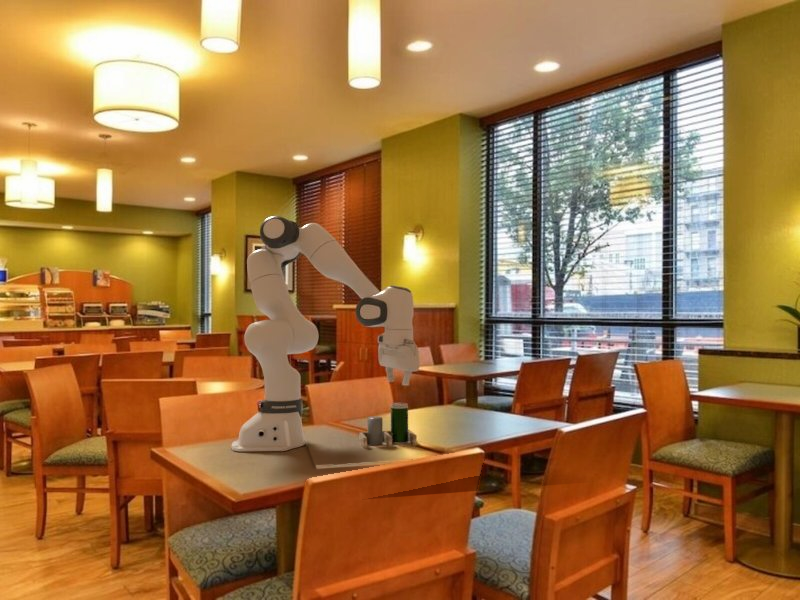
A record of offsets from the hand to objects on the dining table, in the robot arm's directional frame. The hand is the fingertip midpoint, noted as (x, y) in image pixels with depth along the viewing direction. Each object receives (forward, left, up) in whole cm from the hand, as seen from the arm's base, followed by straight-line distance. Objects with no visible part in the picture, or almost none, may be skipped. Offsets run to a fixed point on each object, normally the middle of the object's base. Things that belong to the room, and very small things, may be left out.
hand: (398, 383), depth 184 cm
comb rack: (-3, 0, -19) cm, 20 cm away
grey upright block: (-7, 0, -18) cm, 20 cm away
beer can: (0, 0, -18) cm, 18 cm away
